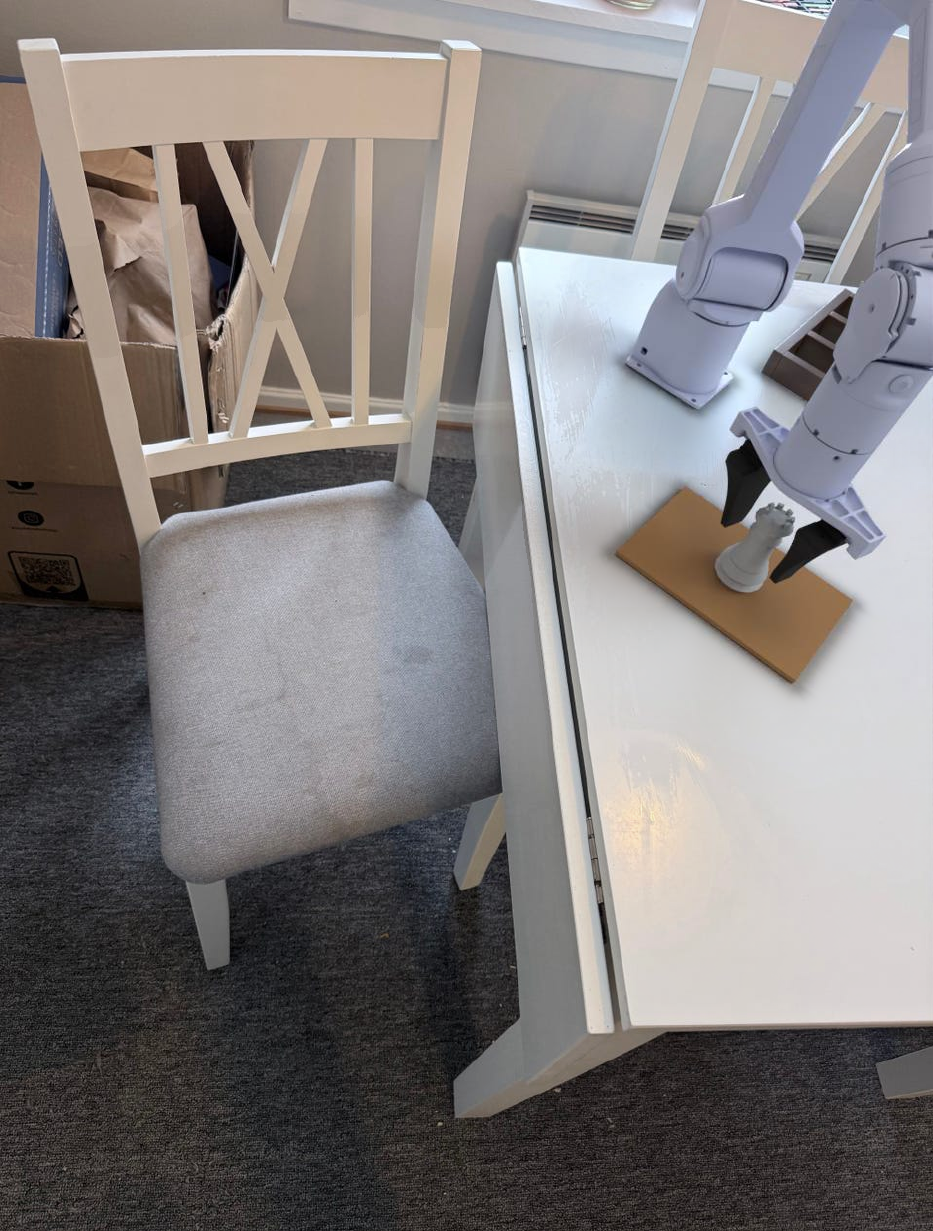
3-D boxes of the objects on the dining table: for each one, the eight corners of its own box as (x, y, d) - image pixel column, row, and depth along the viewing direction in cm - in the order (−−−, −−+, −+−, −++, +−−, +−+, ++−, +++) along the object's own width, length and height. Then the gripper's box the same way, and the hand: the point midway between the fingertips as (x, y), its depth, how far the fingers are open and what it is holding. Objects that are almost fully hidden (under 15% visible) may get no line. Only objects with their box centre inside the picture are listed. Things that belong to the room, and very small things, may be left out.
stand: (761, 371, 93) (773, 349, 91) (831, 309, 103) (844, 287, 101) (818, 407, 91) (832, 385, 89) (884, 339, 101) (898, 318, 99)
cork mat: (615, 554, 73) (616, 550, 73) (683, 489, 79) (685, 485, 79) (792, 683, 68) (795, 680, 68) (850, 603, 75) (853, 599, 74)
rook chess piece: (752, 604, 72) (798, 544, 65) (705, 578, 72) (746, 516, 66) (767, 572, 74) (813, 511, 68) (722, 547, 75) (763, 484, 69)
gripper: (951, 482, 58) (846, 598, 69) (810, 352, 64) (734, 478, 75) (886, 509, 55) (787, 626, 66) (744, 371, 61) (675, 498, 72)
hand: (754, 549), depth 70 cm, fingers open, 6 cm apart
